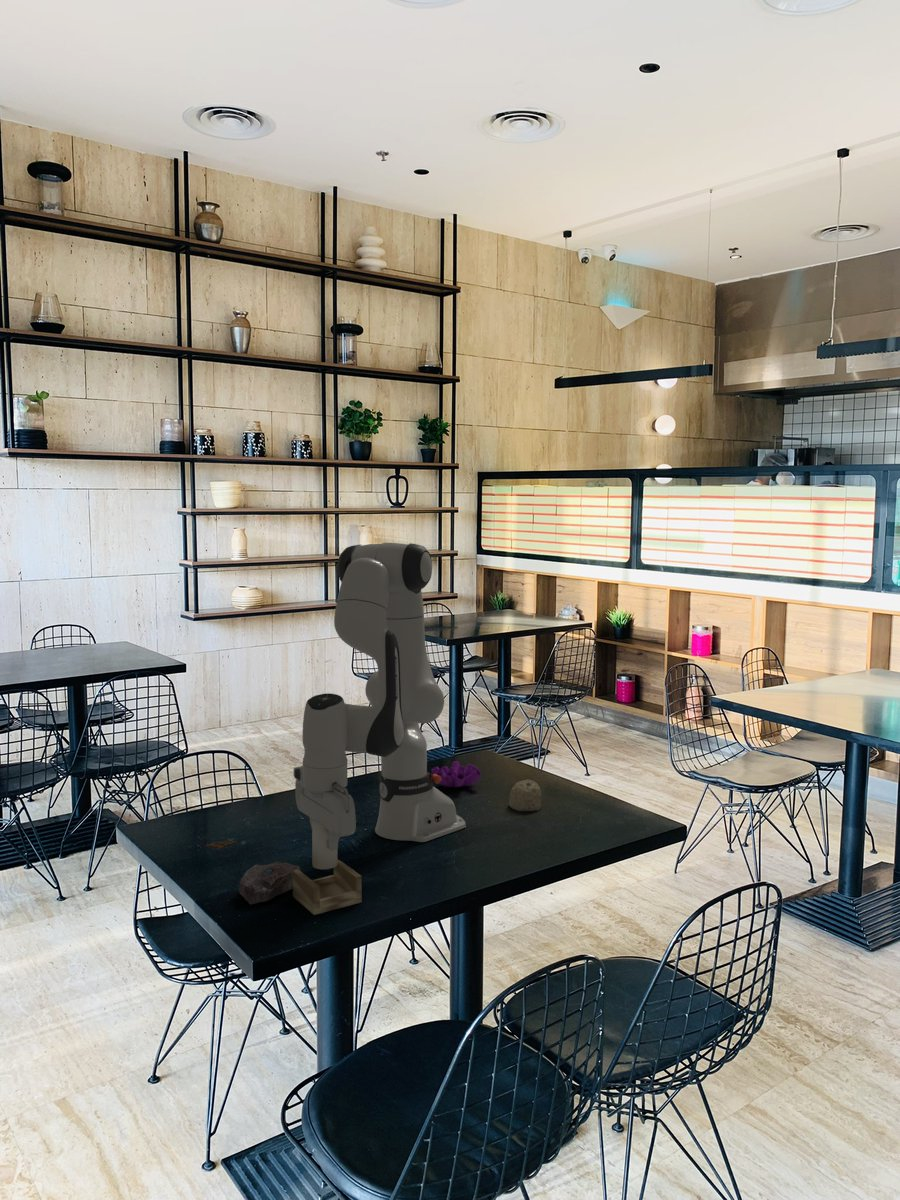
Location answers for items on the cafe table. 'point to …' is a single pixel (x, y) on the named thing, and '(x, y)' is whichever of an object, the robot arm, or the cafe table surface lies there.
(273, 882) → the rock
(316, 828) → the roll
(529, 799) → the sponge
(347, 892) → the holder
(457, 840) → the cafe table surface
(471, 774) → the purple coral
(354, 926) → the cafe table surface
